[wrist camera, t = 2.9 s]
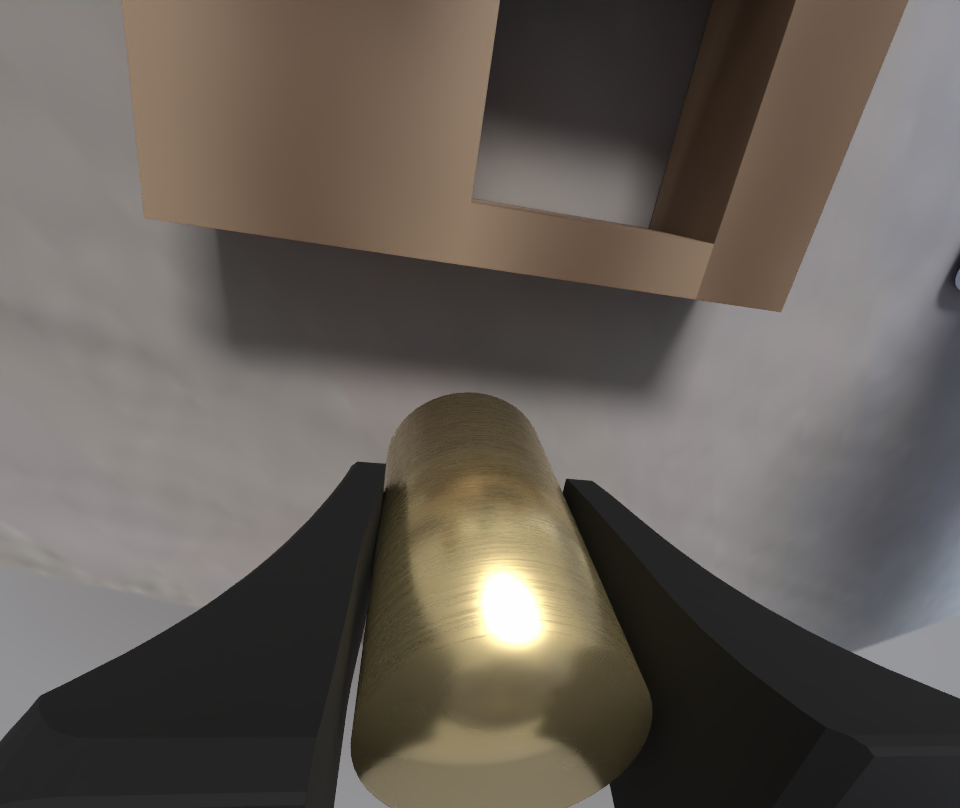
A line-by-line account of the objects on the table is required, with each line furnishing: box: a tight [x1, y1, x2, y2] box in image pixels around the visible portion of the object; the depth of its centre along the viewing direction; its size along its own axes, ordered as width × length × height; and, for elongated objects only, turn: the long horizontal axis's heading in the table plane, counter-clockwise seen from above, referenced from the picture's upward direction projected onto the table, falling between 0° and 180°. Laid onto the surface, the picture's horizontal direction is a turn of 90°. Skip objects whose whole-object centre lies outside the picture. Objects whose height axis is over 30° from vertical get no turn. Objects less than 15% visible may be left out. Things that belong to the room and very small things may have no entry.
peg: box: [351, 392, 652, 808], centre depth 10 cm, size 4×4×7 cm
